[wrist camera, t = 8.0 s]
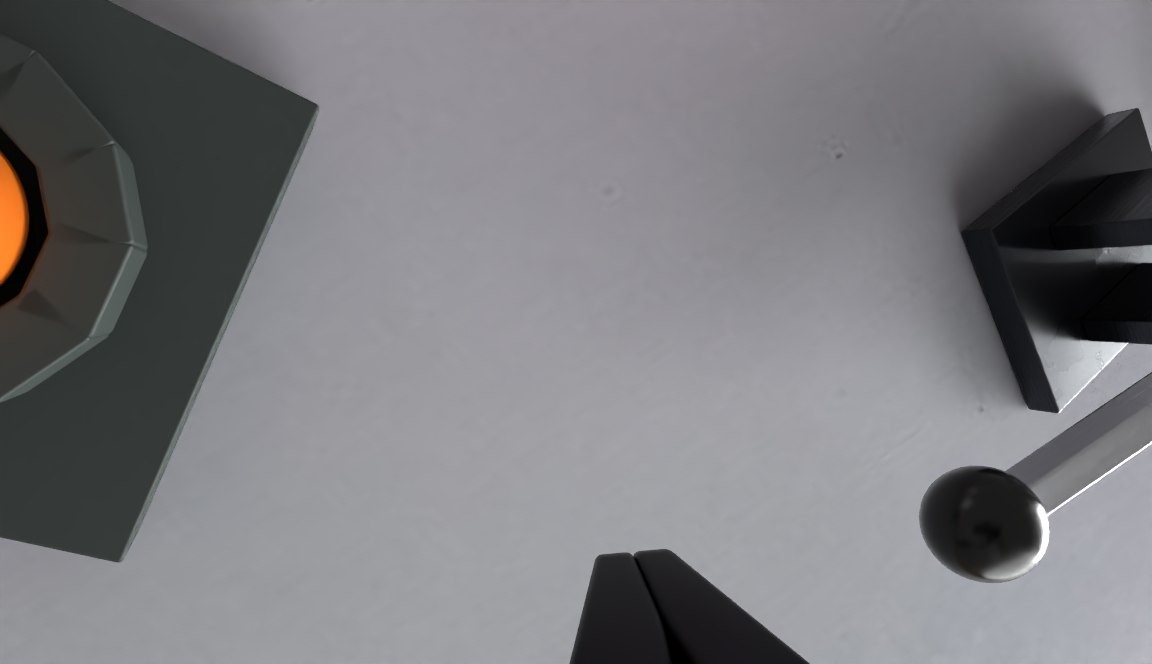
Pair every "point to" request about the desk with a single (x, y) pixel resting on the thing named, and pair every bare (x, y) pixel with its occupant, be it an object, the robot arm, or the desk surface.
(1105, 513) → the desk surface
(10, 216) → the button
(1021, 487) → the lever
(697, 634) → the robot arm
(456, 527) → the desk surface
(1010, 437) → the desk surface
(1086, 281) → the bracket
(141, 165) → the button box
